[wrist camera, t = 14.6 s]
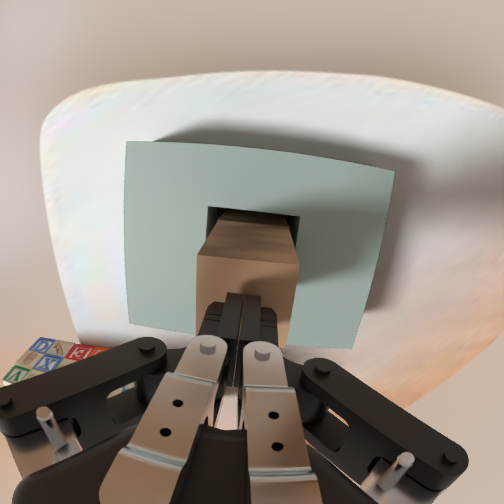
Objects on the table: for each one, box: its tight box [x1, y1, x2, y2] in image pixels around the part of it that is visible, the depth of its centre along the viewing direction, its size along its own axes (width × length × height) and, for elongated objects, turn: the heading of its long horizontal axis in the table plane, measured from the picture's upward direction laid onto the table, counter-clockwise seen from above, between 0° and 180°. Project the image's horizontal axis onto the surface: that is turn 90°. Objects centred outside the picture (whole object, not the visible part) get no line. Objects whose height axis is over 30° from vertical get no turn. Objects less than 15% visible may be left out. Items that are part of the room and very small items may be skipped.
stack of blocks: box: [2, 337, 134, 399], centre depth 26 cm, size 21×6×12 cm, turn 91°
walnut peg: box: [196, 208, 300, 348], centre depth 20 cm, size 5×5×12 cm
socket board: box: [124, 141, 395, 349], centre depth 23 cm, size 18×14×5 cm
